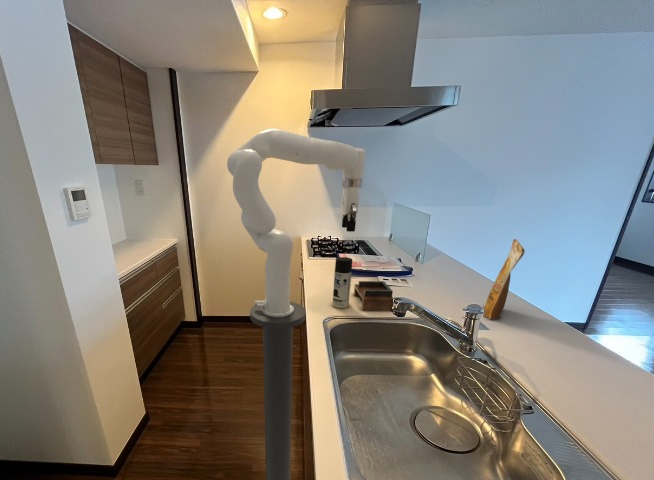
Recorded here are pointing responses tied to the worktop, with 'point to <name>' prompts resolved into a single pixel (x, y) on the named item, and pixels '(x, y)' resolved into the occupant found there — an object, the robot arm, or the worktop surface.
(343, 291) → the spray can
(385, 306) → the dark wooden tray box
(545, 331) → the worktop surface
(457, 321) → the worktop surface
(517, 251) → the pancake mix bag
